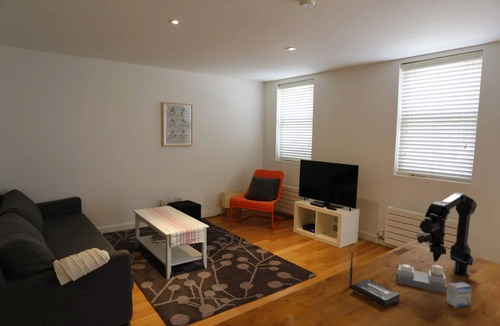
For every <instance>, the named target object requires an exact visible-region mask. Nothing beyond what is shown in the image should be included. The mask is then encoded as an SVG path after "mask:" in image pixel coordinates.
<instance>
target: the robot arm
mask: <svg viewBox="0 0 500 326" xmlns="http://www.w3.org/2000/svg"><path fill="white" fill-rule="evenodd" d="M477 205H478V203H477V202H476V201H475V200H474V199H473V198H471V197H470V196H468V195H467V194H465V193H460V192H453V193H452V194H451V195H450V196H448V197H447V198H445V199H443V200H441V201H440V200H439V201H433V202H432V203H430V205H429V207H428V208H427V210H426V212H425V214H424V220H422V221H421V222H420V223H419V229H420V230H421V232H423V233H418V234H416V235H415V237H416V239H417V243H418V244H423V243H428V248H429V252H430V253H432V259H433V262H435V263H437V262H438V261H439V260H440V258H441V256H442V255H446V254H447V249H446V247H445V236H446V233H445V232H446V221H447V220H448V215H450V213H451V210H452V209H454V208H455V211H456V212H457V215H458V218H457V219H458V220H457V227H456V228H457V230H456V239H455V243H454V244H452V245H451V246H450V251H449V256H450V260H451V261H454V268H452V272H453V274H454V275H458V276H463V277H468V278H469V277H470V274H469V272H468V269H469V266H473V264H474V258H473V256H472V254H471V249H470V246H469V245H468V241H469V240H468V239H469V230H470V222H471V216H472V215H473V214H474V213H475V211H476V209H477Z"/></svg>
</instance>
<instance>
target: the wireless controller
mask: <svg viewBox="0 0 500 326" xmlns="http://www.w3.org/2000/svg"><path fill="white" fill-rule="evenodd" d="M353 254H354V253H353V252H352V251H351V258H350V259H351V260H350V267H349V279H348V280H349V281H348V282H349V283H348V284H349V285H350V286H352V287H353V288H352V287H351V288H352V291H353V290H354V291H356V292H358V293H360V294H362V295H364V296H365V297H367V298H369V299H370V300H372V301H374V302H376V303H377V304H376V303H375V304H376V305H378V304H379V305H380V306H379V305H378V306H379V307H381V306H382V307H381V308H383V307H384V308H383V309H386V308H388V307H391V306H393V305H395V304H396V303H398V302H400V295H401V294H400V292H397V291H393V290H392V289H390V288H388V287H387V288H386V287H384V286H383V285H381V284H378V283H376V282H375V281H373V280H371V279H369V278H366V279H363V280H361V281H358V282H355V283H353V271H354V270H353V269H354V268H353V258H354V255H353ZM352 283H353V284H352ZM349 285H348V286H349ZM370 300H369V301H370ZM372 301H371V302H372ZM374 302H373V303H374Z"/></svg>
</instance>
